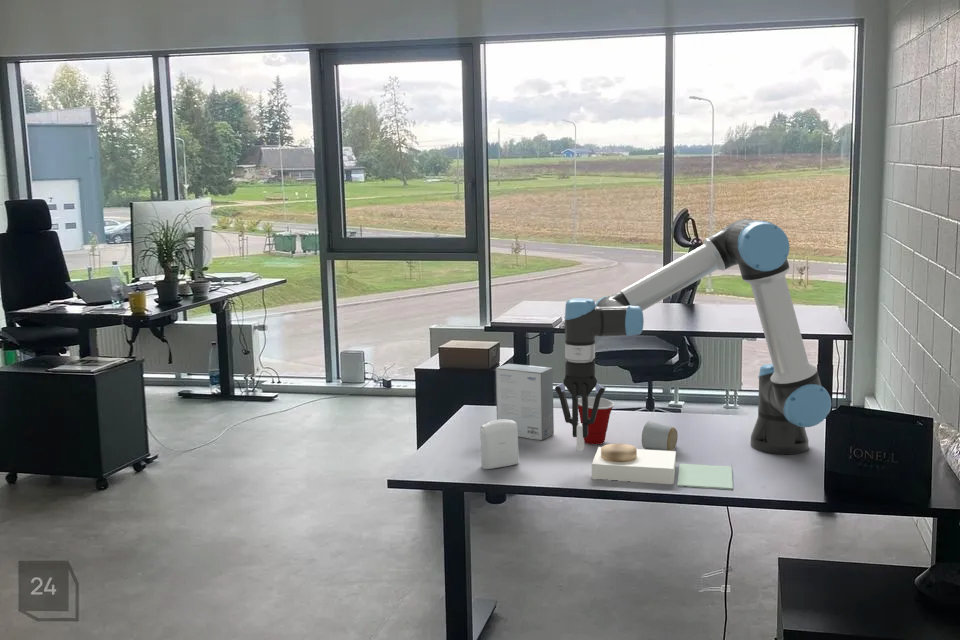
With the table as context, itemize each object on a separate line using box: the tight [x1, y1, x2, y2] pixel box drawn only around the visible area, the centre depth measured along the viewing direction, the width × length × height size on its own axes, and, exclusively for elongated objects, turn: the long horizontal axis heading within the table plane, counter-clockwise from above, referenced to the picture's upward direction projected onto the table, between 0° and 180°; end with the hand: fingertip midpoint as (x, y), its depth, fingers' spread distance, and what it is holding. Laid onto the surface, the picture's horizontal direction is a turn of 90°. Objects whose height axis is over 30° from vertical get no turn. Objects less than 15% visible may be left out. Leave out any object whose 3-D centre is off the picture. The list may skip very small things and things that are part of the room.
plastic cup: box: [578, 396, 615, 445], centre depth 258 cm, size 11×11×12 cm
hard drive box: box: [495, 363, 555, 441], centre depth 266 cm, size 16×8×20 cm, turn 58°
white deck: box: [591, 446, 677, 485], centre depth 233 cm, size 20×14×4 cm
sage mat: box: [676, 463, 734, 491], centre depth 229 cm, size 13×16×1 cm
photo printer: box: [479, 419, 519, 470], centre depth 240 cm, size 10×4×12 cm, turn 112°
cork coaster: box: [600, 443, 638, 462], centre depth 233 cm, size 9×9×2 cm
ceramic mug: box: [641, 420, 678, 451], centre depth 251 cm, size 11×8×8 cm
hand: (580, 449), depth 236 cm, fingers closed
